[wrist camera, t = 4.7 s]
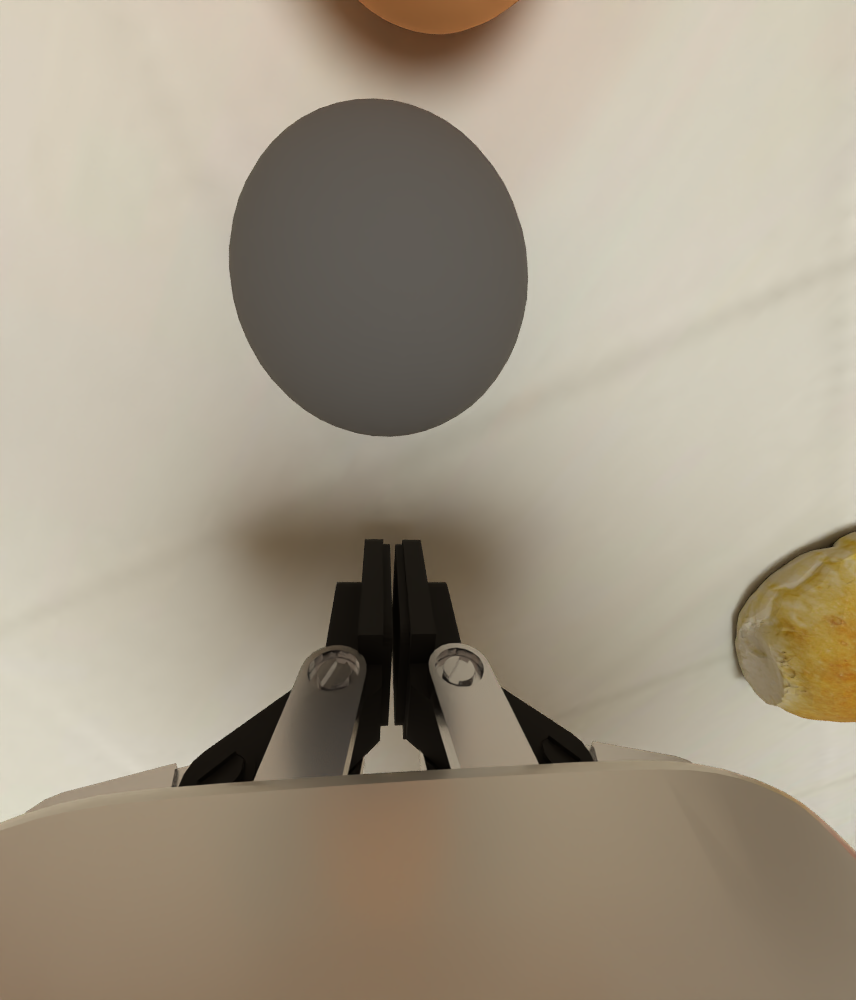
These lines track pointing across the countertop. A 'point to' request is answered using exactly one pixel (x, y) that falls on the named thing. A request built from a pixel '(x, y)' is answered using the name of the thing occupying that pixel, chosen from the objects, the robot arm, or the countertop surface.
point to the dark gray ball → (378, 267)
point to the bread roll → (804, 635)
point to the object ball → (437, 13)
